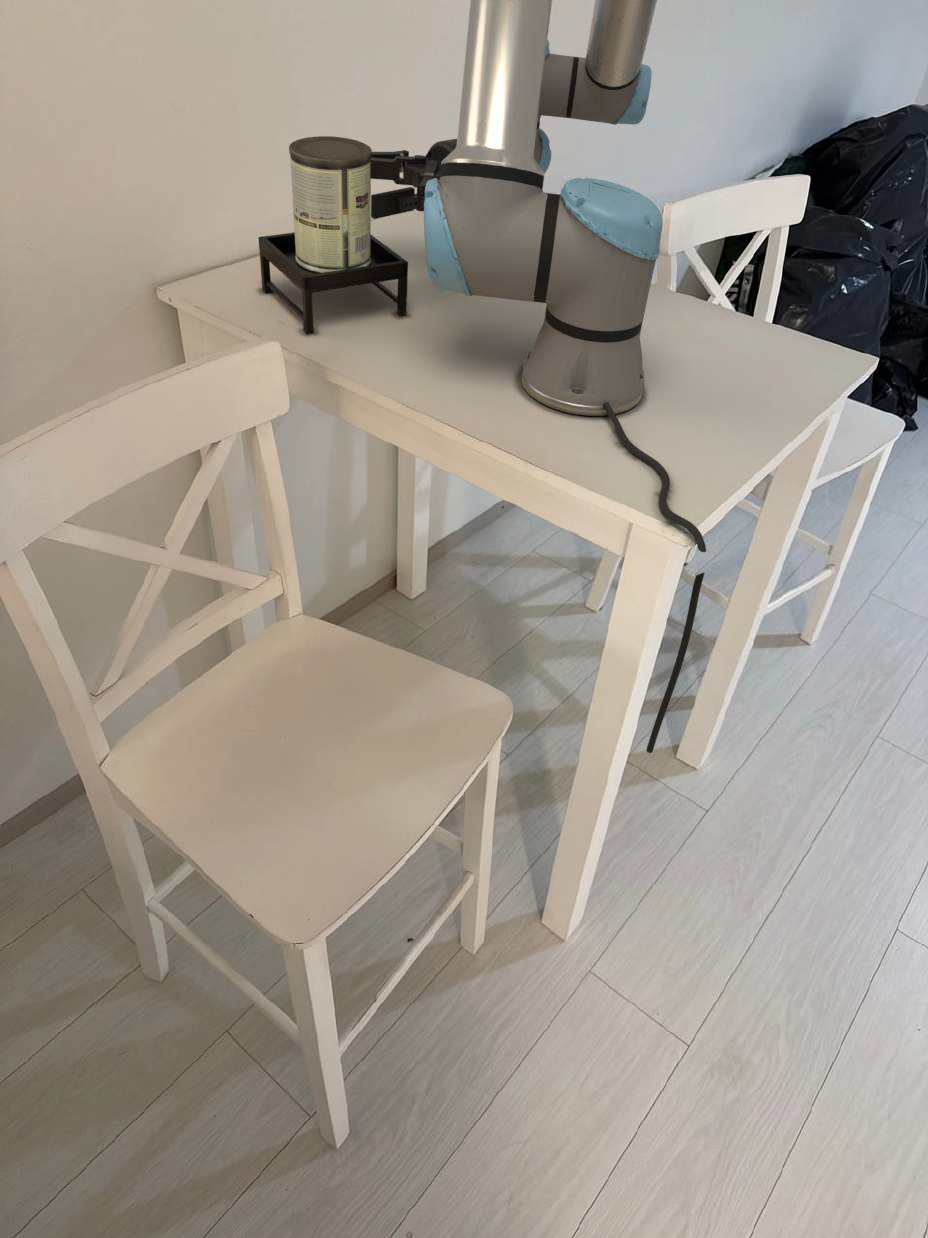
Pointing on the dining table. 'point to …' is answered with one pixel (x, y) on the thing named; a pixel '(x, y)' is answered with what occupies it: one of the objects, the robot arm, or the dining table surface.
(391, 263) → the stand
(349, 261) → the coffee can
